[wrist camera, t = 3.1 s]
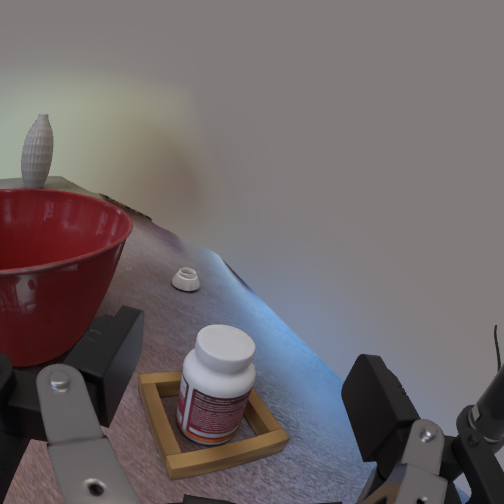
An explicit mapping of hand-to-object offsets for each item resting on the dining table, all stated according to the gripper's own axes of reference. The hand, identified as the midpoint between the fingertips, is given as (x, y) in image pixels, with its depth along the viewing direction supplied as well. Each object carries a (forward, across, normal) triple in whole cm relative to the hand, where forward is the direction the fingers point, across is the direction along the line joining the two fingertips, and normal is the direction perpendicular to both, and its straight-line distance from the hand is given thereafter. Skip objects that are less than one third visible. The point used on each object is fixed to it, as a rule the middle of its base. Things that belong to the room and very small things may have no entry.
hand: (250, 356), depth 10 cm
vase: (+82, +78, +18) cm, 114 cm away
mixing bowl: (+16, +25, +18) cm, 35 cm away
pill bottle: (+11, 0, +18) cm, 21 cm away
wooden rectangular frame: (+11, 0, +18) cm, 21 cm away
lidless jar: (+40, +7, +18) cm, 44 cm away
